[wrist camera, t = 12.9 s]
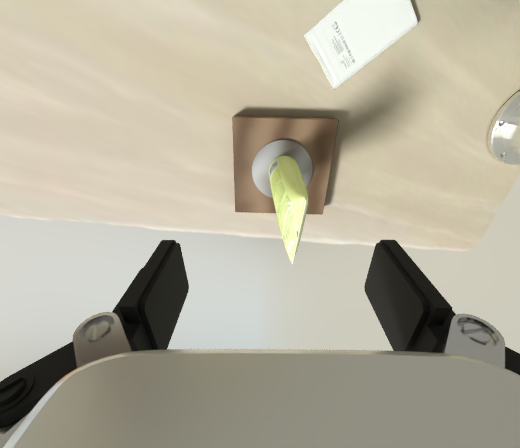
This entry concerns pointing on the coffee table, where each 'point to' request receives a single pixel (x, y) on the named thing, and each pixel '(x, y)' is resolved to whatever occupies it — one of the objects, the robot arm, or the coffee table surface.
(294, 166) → the tube
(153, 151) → the coffee table surface
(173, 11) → the coffee table surface
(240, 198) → the walnut base
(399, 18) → the external hard drive
